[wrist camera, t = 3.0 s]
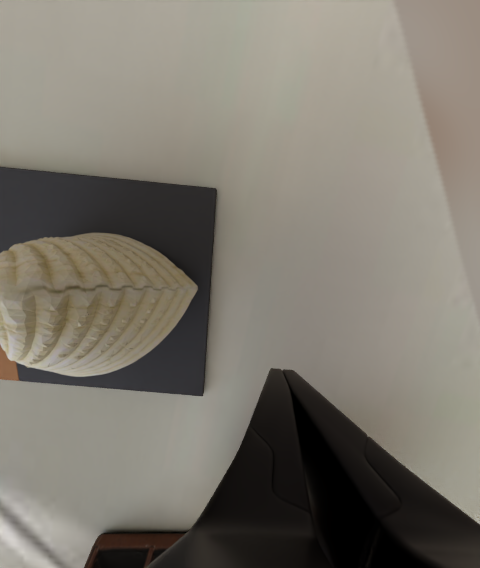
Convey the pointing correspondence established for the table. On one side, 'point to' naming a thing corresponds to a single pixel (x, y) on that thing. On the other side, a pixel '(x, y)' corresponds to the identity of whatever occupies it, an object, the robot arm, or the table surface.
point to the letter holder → (129, 549)
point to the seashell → (87, 302)
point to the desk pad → (136, 225)
